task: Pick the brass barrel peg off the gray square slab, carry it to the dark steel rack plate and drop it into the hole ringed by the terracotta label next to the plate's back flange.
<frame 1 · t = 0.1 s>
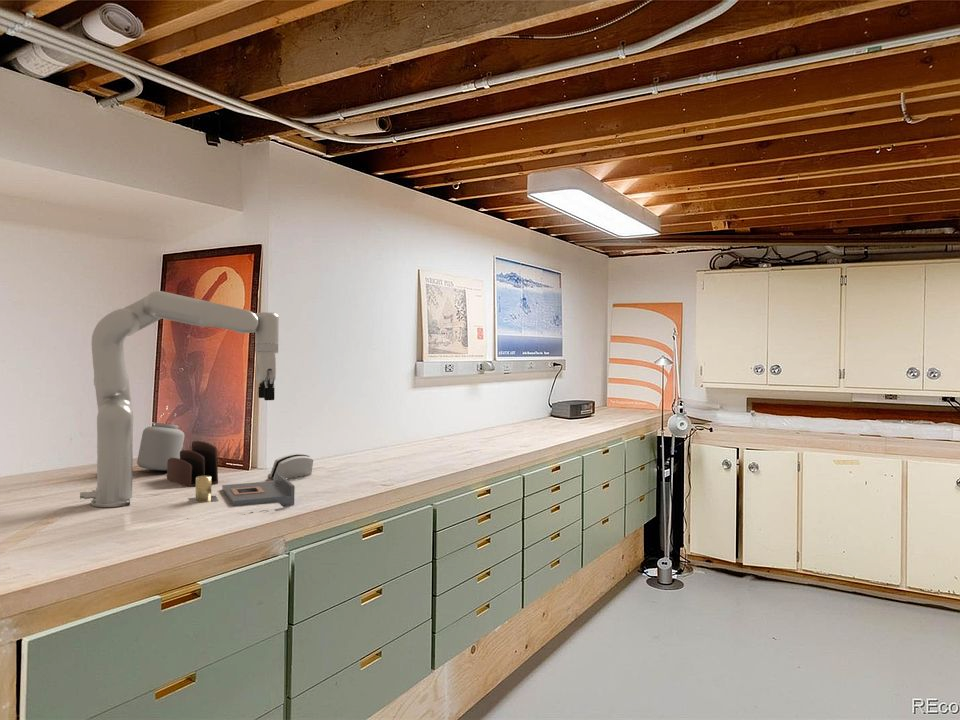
hand: (266, 399, 223), 31 cm above the counter, fingers open, 9 cm apart
rack plate: (257, 499, 210), on the counter
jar: (163, 471, 252), on the counter
barrel peg: (203, 499, 202), point 1 cm above the counter, touching gray square slab
letter holder: (192, 482, 234), on the counter
gray square slab: (203, 504, 202), on the counter
grey rounded block: (291, 478, 245), on the counter
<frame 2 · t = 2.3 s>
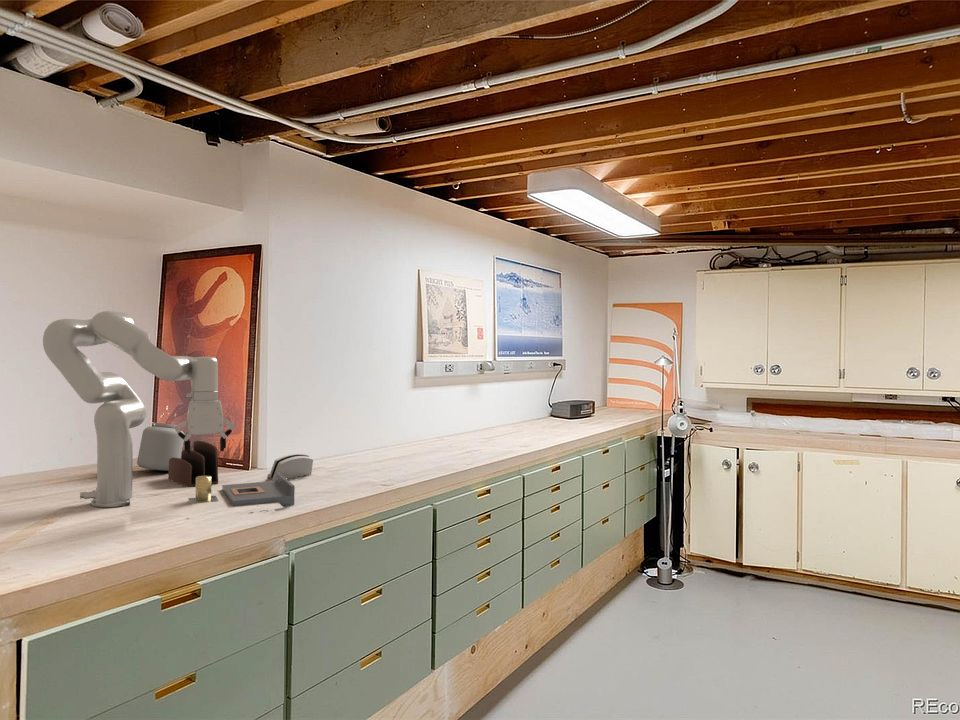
hand: (205, 452, 202), 16 cm above the counter, fingers open, 9 cm apart
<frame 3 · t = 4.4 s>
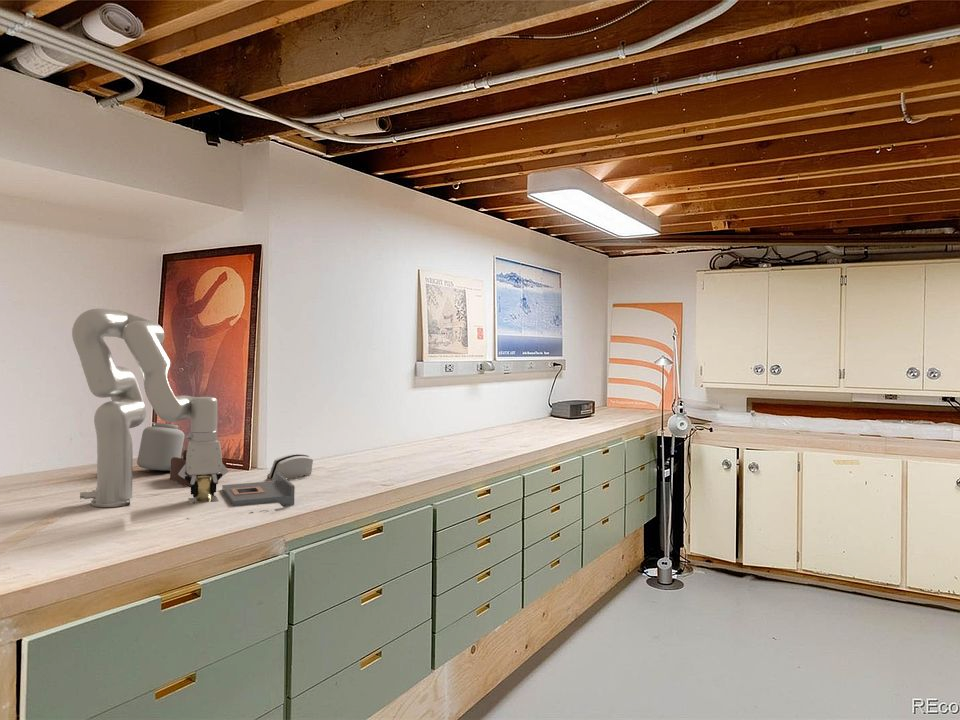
hand: (203, 495, 202), 3 cm above the counter, fingers closed on barrel peg, 4 cm apart
barrel peg: (203, 499, 202), point 1 cm above the counter, touching gripper, gray square slab
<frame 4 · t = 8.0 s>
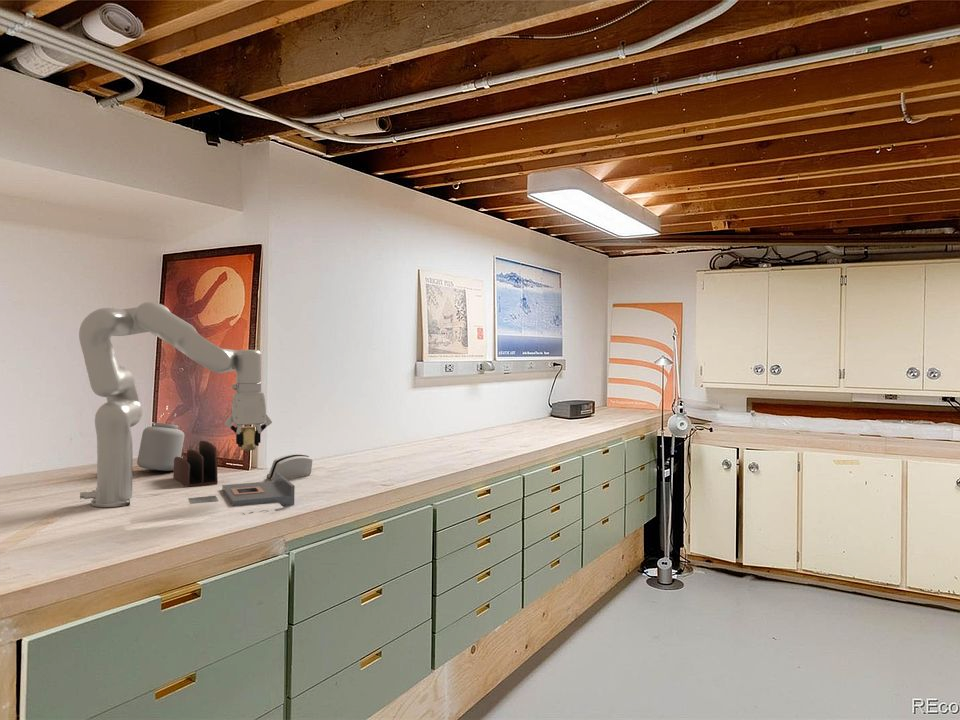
hand: (248, 445, 208), 18 cm above the counter, fingers closed on barrel peg, 4 cm apart
barrel peg: (248, 449, 208), point 16 cm above the counter, touching gripper
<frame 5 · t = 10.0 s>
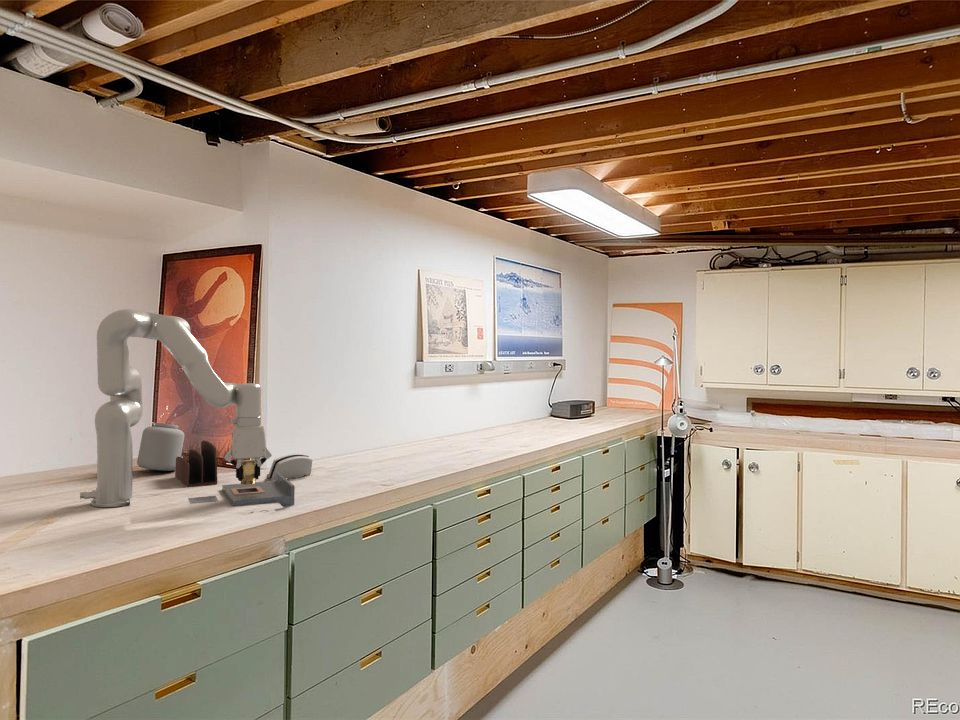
hand: (248, 478, 208), 7 cm above the counter, fingers closed on barrel peg, 4 cm apart
barrel peg: (248, 482, 208), point 6 cm above the counter, touching gripper
when the fingers open (4 cm above the counter, at t = 11.6 s): barrel peg drops 3 cm, resting in rack plate.
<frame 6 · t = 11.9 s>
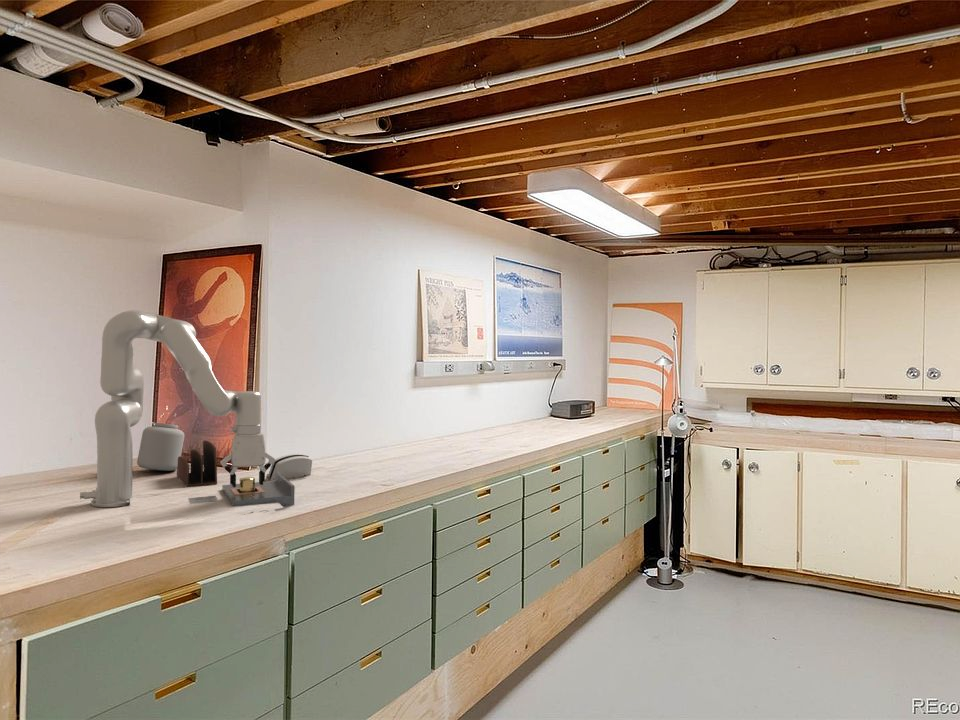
hand: (247, 485, 208), 5 cm above the counter, fingers open, 7 cm apart
barrel peg: (247, 500, 208), resting in rack plate
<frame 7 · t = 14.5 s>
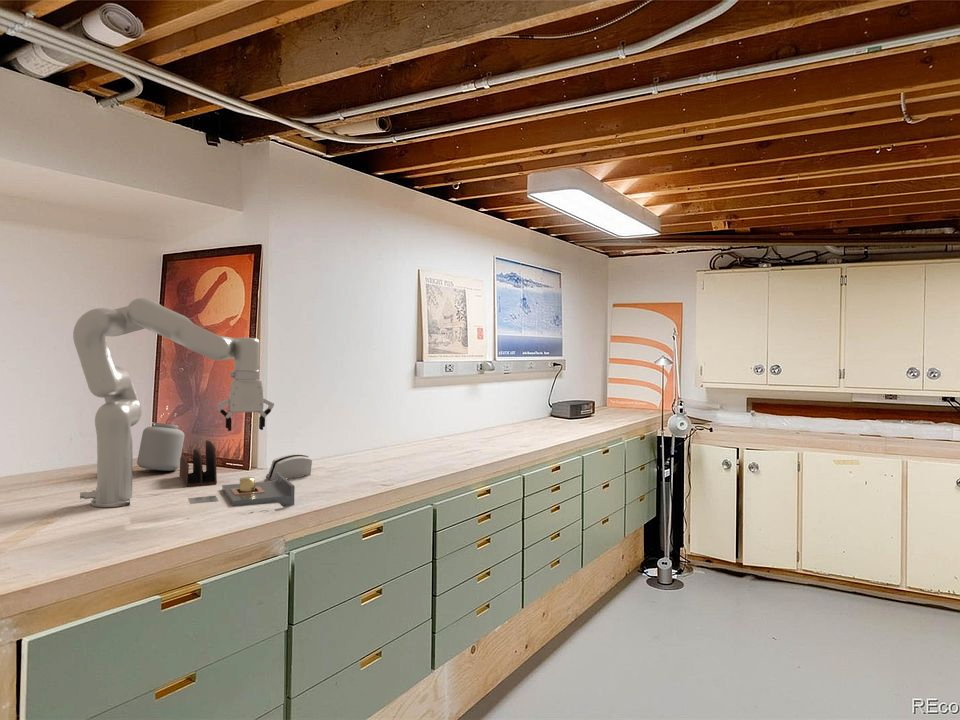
hand: (245, 429, 208), 22 cm above the counter, fingers open, 9 cm apart
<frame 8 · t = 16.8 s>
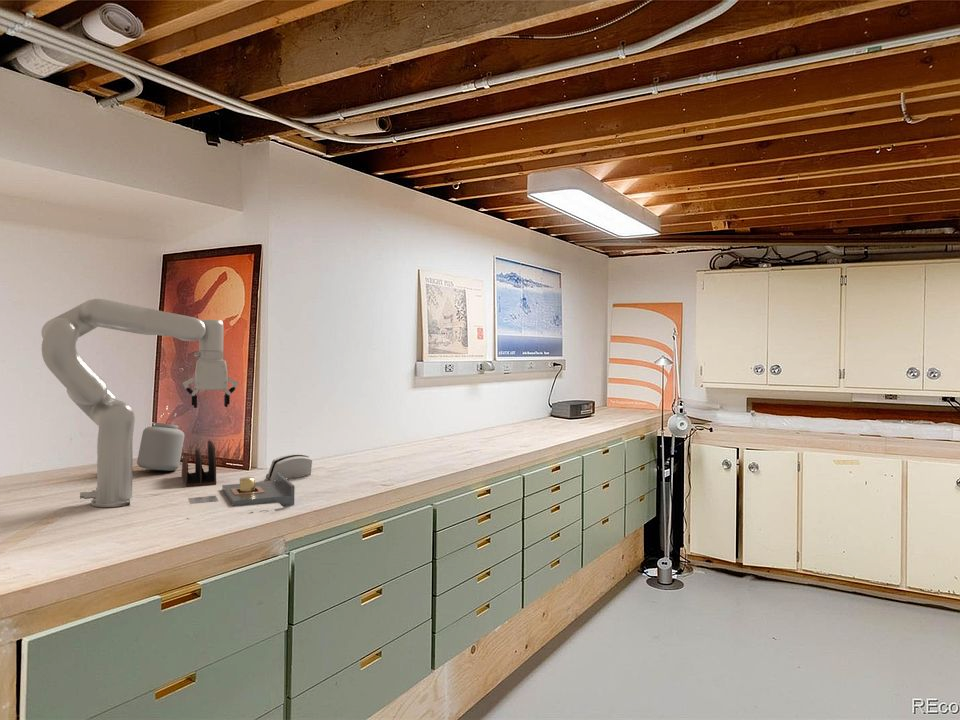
hand: (210, 407, 220), 28 cm above the counter, fingers open, 9 cm apart
at the end: barrel peg 0.1 cm from the target spot on the rack plate, point 0.0 cm above the rack plate's base; barrel peg tilted 0°; the gripper is holding nothing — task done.
